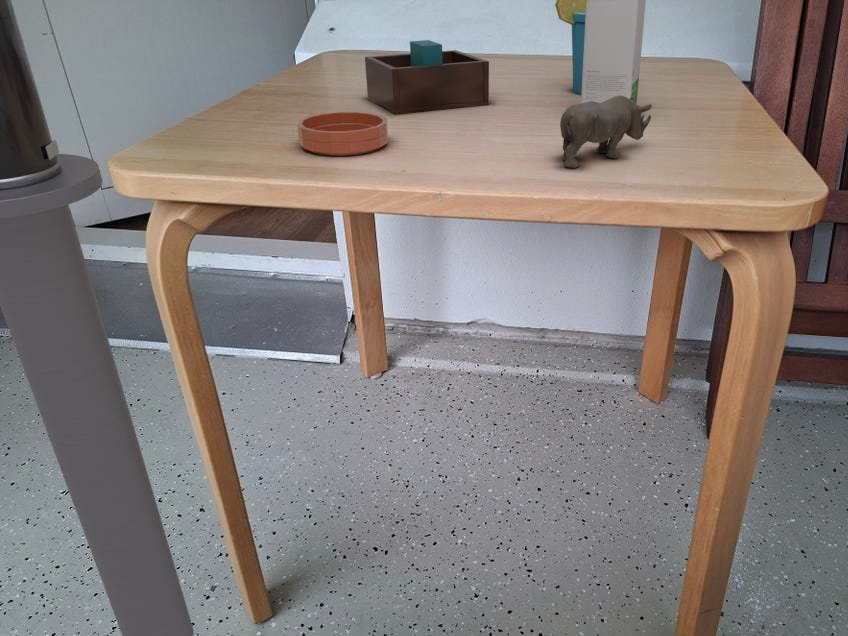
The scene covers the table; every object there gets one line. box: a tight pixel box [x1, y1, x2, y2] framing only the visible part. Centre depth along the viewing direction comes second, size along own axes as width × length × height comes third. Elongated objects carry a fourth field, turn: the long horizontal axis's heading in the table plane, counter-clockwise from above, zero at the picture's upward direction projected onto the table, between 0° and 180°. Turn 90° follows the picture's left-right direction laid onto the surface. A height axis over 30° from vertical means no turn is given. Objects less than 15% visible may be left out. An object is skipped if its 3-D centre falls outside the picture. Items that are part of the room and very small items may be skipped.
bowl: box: [296, 111, 389, 157], centre depth 82 cm, size 10×10×3 cm
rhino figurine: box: [559, 95, 653, 169], centre depth 78 cm, size 4×14×6 cm, turn 129°
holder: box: [364, 49, 490, 115], centre depth 101 cm, size 14×11×6 cm
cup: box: [555, 0, 586, 95], centre depth 105 cm, size 14×8×15 cm, turn 119°
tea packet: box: [409, 39, 443, 67], centre depth 100 cm, size 4×3×7 cm, turn 26°
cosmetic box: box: [580, 0, 647, 105], centre depth 92 cm, size 8×7×16 cm
